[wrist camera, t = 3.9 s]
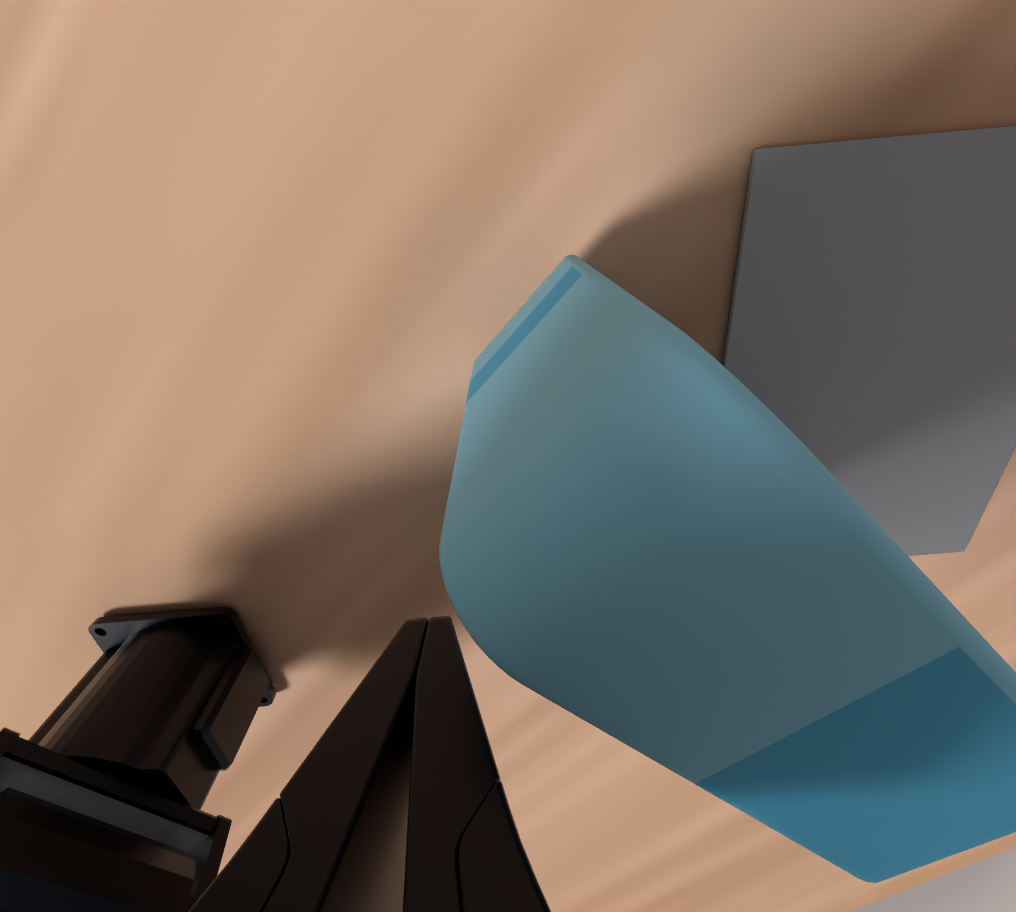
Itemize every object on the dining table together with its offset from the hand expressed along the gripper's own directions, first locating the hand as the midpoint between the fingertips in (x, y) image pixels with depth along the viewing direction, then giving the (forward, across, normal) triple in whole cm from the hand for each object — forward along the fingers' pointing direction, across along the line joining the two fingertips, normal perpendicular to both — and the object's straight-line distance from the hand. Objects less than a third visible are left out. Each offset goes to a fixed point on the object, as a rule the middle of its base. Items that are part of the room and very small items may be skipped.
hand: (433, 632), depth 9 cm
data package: (+10, -6, 0) cm, 12 cm away
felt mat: (+10, -16, 0) cm, 18 cm away
